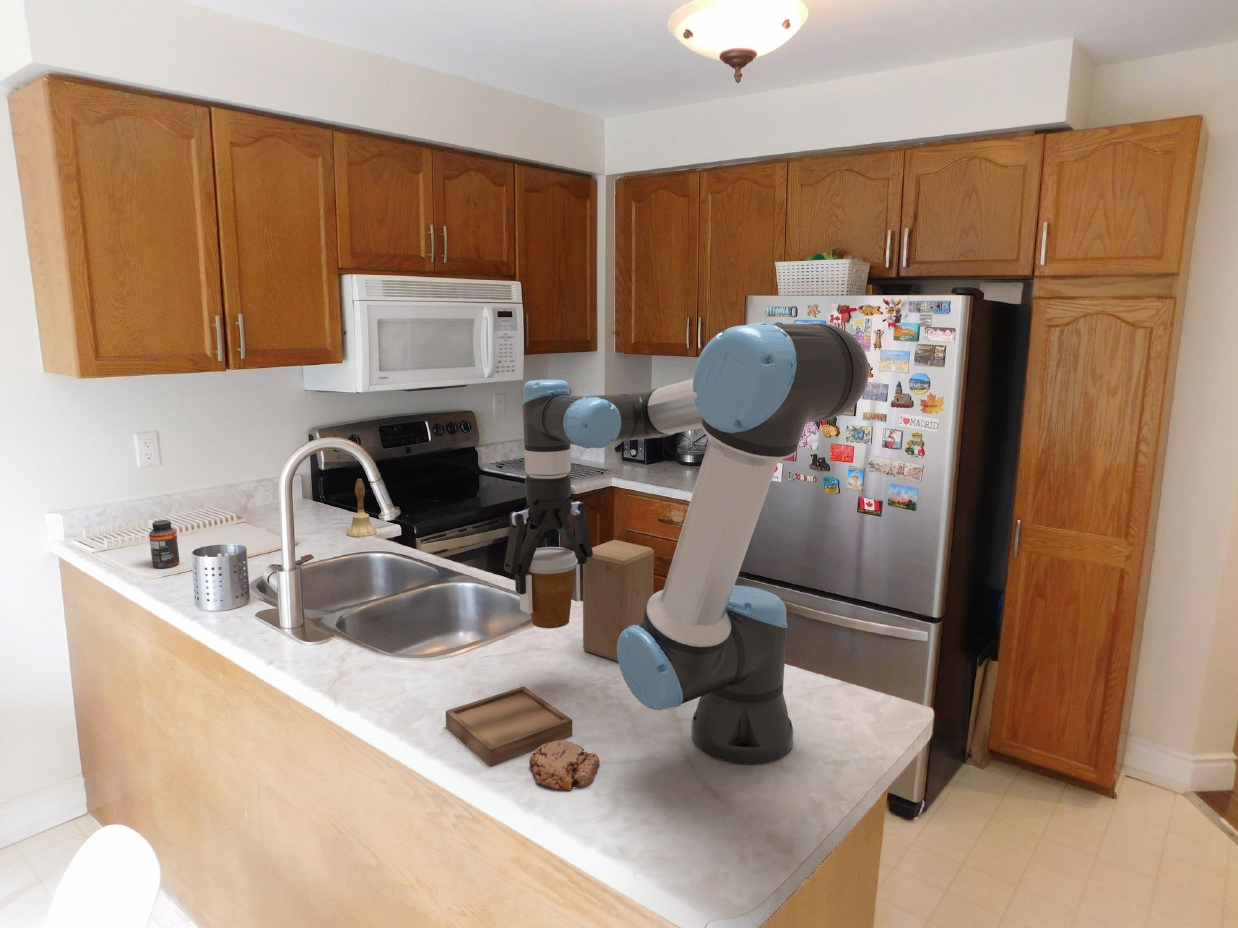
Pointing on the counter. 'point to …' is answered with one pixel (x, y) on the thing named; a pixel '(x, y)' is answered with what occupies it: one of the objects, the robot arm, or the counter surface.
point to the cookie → (563, 765)
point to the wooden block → (615, 593)
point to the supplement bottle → (164, 545)
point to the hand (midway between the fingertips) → (550, 605)
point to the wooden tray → (508, 724)
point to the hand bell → (360, 516)
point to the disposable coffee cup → (552, 586)
